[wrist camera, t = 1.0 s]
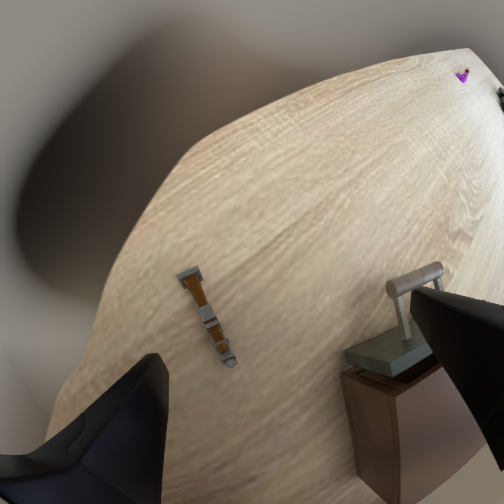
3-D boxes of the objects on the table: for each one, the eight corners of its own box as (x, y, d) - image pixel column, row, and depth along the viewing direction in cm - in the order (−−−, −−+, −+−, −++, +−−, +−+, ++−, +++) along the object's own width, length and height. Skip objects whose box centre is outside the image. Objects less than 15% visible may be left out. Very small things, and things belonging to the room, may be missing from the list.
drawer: (330, 296, 22) (374, 290, 16) (427, 261, 24) (473, 246, 18) (364, 457, 19) (400, 486, 13) (448, 402, 21) (489, 412, 15)
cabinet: (339, 373, 22) (394, 397, 13) (439, 322, 24) (497, 319, 16) (357, 476, 19) (399, 514, 11) (447, 418, 22) (495, 433, 13)
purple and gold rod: (464, 83, 38) (469, 71, 42) (466, 80, 37) (470, 68, 41) (455, 77, 39) (461, 65, 43) (457, 73, 38) (463, 62, 42)
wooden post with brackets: (228, 379, 20) (218, 371, 16) (190, 298, 24) (175, 273, 20) (249, 369, 20) (244, 358, 16) (208, 290, 24) (196, 263, 20)
